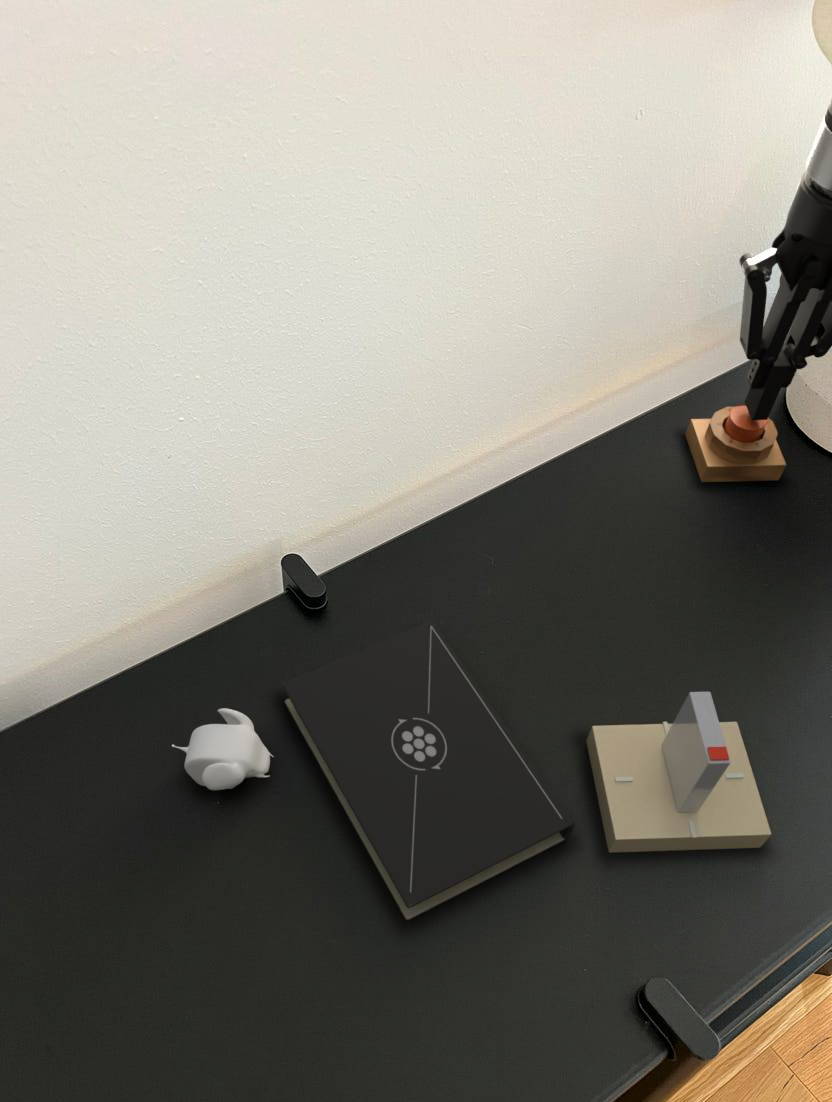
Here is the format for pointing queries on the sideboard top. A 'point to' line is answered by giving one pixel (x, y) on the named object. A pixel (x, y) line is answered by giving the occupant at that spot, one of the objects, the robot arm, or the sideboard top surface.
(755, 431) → the button
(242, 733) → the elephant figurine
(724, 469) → the button block
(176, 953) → the sideboard top surface
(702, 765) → the grey rectangular block
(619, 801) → the panel
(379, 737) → the book
